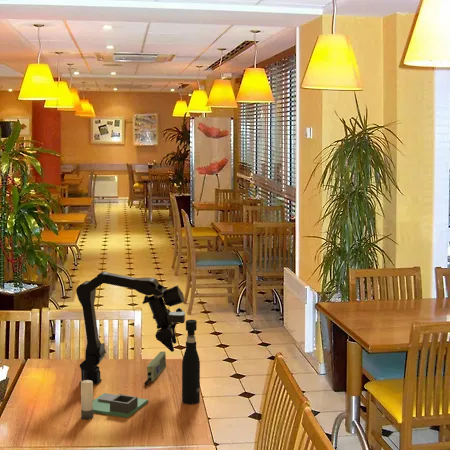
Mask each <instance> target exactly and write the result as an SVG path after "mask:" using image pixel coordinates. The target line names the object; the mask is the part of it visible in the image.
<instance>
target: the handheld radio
mask: <svg viewBox="0 0 450 450" xmlns="http://www.w3.org/2000/svg"><path fill="white" fill-rule="evenodd" d="M166 355H167V354H166V351H162V350H161V351H159V353H157V355H156V356H155V357H154V358H153V359H152V360H151V361H150V362H149V363H148V364H147V366H146V373H147V374H146V376H147V378H146V380H145V382H144V386H147V385H148V384H149V383H150V382H151V383H153V382H154V381H155V380H156V379H157V378H158V377H159V376H160V374H161V373H162V371H164V369H165V368H166V367H167V359H166V357H167V356H166Z"/></svg>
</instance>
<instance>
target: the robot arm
mask: <svg viewBox="0 0 450 450" xmlns="http://www.w3.org/2000/svg"><path fill="white" fill-rule="evenodd" d="M102 284H105V285H106V284H107V285H111V286H116V287H117V286H118V287H122V288H125V289H132V290H135V291H136V292H138V293H139V294H142V295H145V296H144V298H143V301H142V302H141V303H142V304H143V305H145V304H148V305H149V308H150V311H151V314H152V319H153V320H155V323H156V329H157V331H156V333H155V338H156V339H155V340H157V341H158V342H160V343H161V344H162V345H163V346H165V347H166V348H167V349H168V350H169V351H170V352H171V353H173V352H175V347H174V345H175V344H177V337H176V330H175V329H176V326H177V323H178V324H184V323H186V312H185V310H183V309H182V308H181V307H177V308H176V310H173V311H171V310H170V308H171V307H174V306H177V305H180V304H183V303H185V296H184V293H183V291H182V289H181V288H180V287H179V285H175V286H172V287H170V288H167V287H165V286H164V285H162V284H161V283H160V282H159V281H158V279H157V278H156V277H146V276H145V277H133V276H127V275H122V274H118V273H112V272H109V271H106V270H105V271H101V272H100V273H98V274H97V275H96V276H95V277H94V278H92V279H90V280H85V281H84V282H82V283H80V284H79V285H77V287H76V289H75V293H76V296H77V299H78V302H79V303H80V305H81V307H82V314H83V321H84V328H85V335H86V336H85V337H86V348H85V354H84V355H85V358H84V360H82V362H81V363H80V364H79V368H80V371H81V373H80V374H81V375H80V376H81V378H80V379H81V380H80V381H79V383H78V384H80V385H81V381H84V380H91V381H93V387H94V386H95V385H97V384H99V383H101V382H102V379H101V370H100V366H98V365H100V363H101V362H102V361H103V359H104V358H105V355H106V354H107V351H106V345H105V343H106V342H101V341H100V339H99V331H98V325H97V316H96V309H95V307H96V306H95V301H96V295H97V288H98V287H100V286H102ZM167 306H168V307H170V308H168V307H167Z"/></svg>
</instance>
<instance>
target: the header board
mask: <svg viewBox="0 0 450 450" xmlns="http://www.w3.org/2000/svg"><path fill="white" fill-rule="evenodd" d="M148 403H149V399H148V398H147V399H146V398H139V397H138V396H134V395H127V394H121V393H120V394H114V393H113V394H112V393H107V392H103V393H102V394H100V395H99V396H97V397H96V398H95V399H94V398H93V414H100V415H106V416H111V417H112V416H114V417H119V418H124V419H128V418H129V417H131V416H132V415H133V414H135V412H138V410H140V409H141V408H143V407H144V406H145V405H146V404H148Z"/></svg>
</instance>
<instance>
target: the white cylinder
mask: <svg viewBox="0 0 450 450" xmlns="http://www.w3.org/2000/svg"><path fill="white" fill-rule="evenodd" d="M80 382H81V384H80V401H81V402H80V406H81V407H80V417H81V420H85V421H87V420H88V421H89V420H91V419H93V418H94V413H93V400H94V388H93V387H94V386H93V381H91V380H84V381H81V380H80Z"/></svg>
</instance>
